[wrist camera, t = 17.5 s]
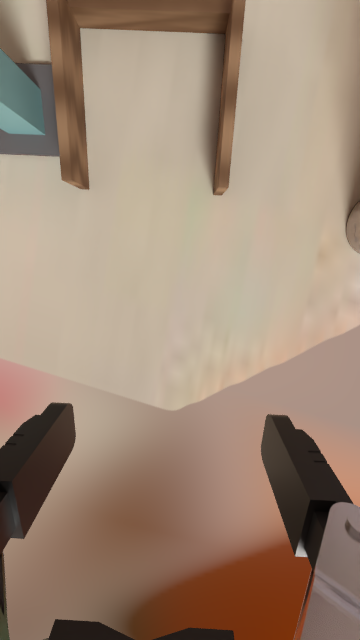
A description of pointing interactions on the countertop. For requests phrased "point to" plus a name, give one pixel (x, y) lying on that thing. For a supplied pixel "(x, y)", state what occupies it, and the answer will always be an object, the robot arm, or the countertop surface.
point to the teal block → (19, 100)
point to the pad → (49, 142)
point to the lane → (148, 15)
